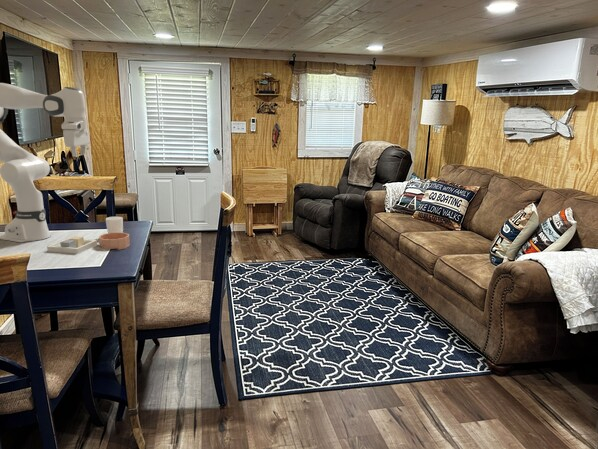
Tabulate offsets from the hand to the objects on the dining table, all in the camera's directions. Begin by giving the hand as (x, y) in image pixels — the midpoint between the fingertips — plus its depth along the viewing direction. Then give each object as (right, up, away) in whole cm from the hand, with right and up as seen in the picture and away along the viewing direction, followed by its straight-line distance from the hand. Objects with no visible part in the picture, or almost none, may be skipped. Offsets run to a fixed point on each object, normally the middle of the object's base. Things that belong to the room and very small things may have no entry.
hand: (79, 155), depth 206 cm
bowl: (+14, -42, +6) cm, 45 cm away
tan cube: (-2, -42, +2) cm, 42 cm away
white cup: (+8, -38, +21) cm, 44 cm away
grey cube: (-3, -43, -3) cm, 43 cm away
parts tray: (-3, -43, 0) cm, 43 cm away
